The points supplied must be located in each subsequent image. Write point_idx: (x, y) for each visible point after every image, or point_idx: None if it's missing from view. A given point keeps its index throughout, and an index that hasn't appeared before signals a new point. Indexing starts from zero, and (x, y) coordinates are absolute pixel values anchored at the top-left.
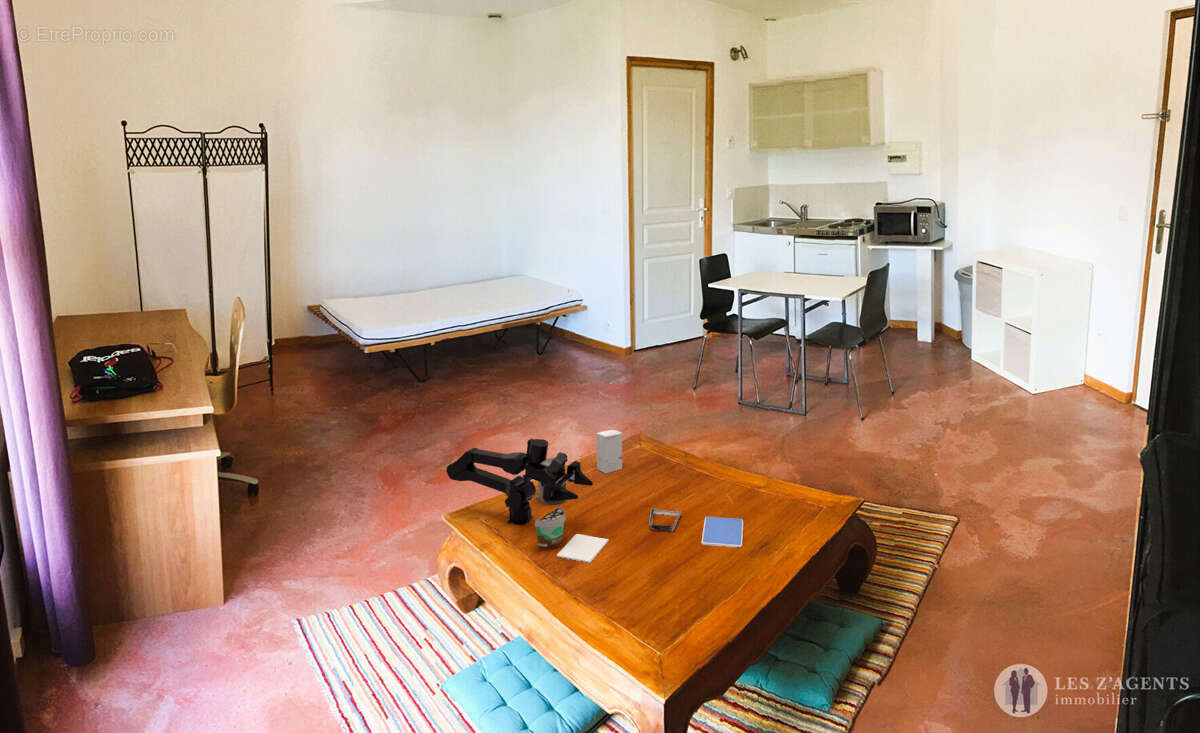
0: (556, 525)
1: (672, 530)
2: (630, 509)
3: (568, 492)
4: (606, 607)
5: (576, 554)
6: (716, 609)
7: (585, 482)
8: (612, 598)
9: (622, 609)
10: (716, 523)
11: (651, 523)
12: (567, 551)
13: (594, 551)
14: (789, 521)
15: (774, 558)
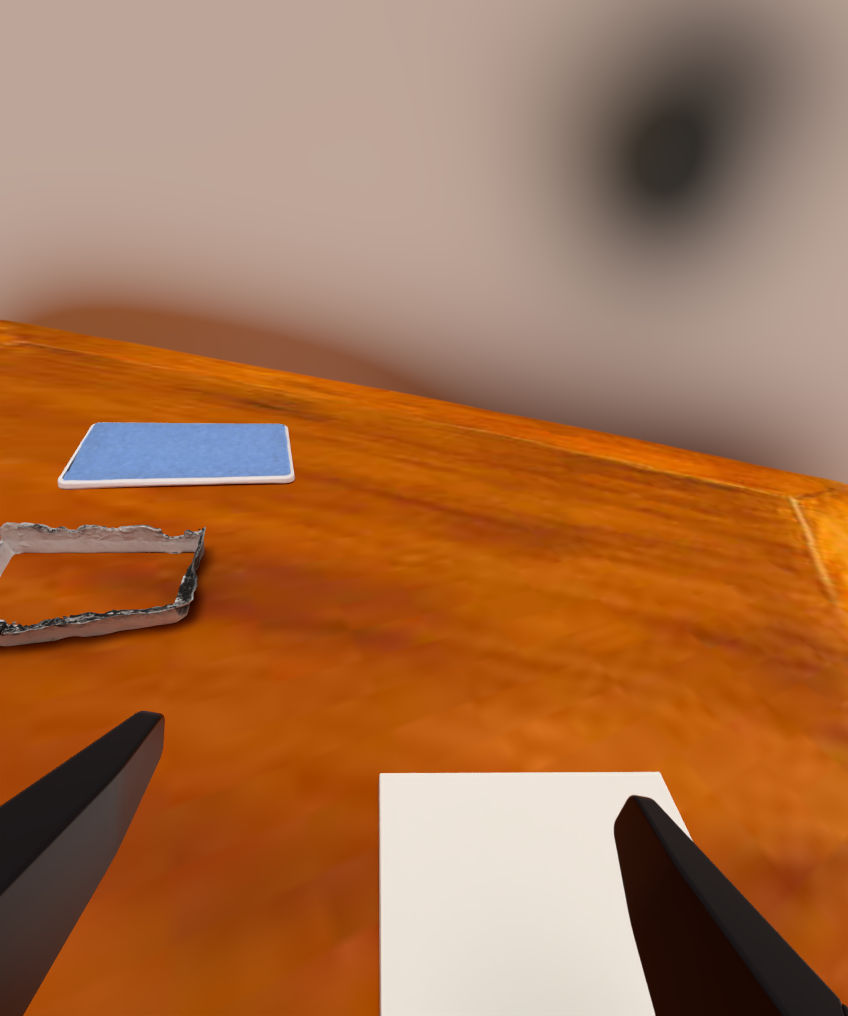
0: None
1: (203, 547)
2: None
3: (813, 971)
4: (807, 614)
5: None
6: (582, 451)
7: (63, 896)
8: (756, 612)
9: (766, 578)
10: (131, 459)
11: (124, 624)
12: None
13: (557, 795)
14: (110, 376)
15: (324, 397)
